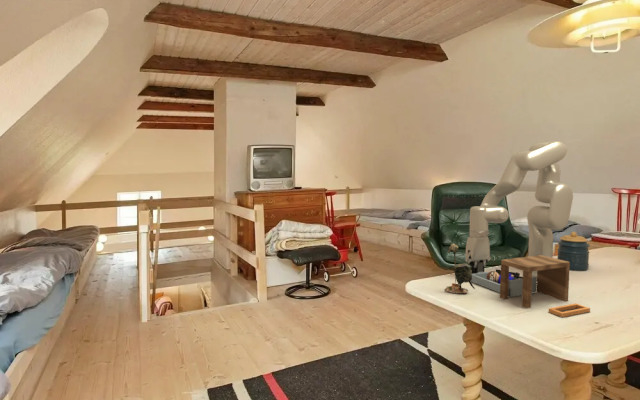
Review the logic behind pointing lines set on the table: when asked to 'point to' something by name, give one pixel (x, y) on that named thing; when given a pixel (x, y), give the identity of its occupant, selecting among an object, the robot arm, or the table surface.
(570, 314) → the wooden rectangular frame
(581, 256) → the canister
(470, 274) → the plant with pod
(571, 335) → the table surface
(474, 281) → the sled
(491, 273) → the character figurine
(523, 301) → the small wooden table
